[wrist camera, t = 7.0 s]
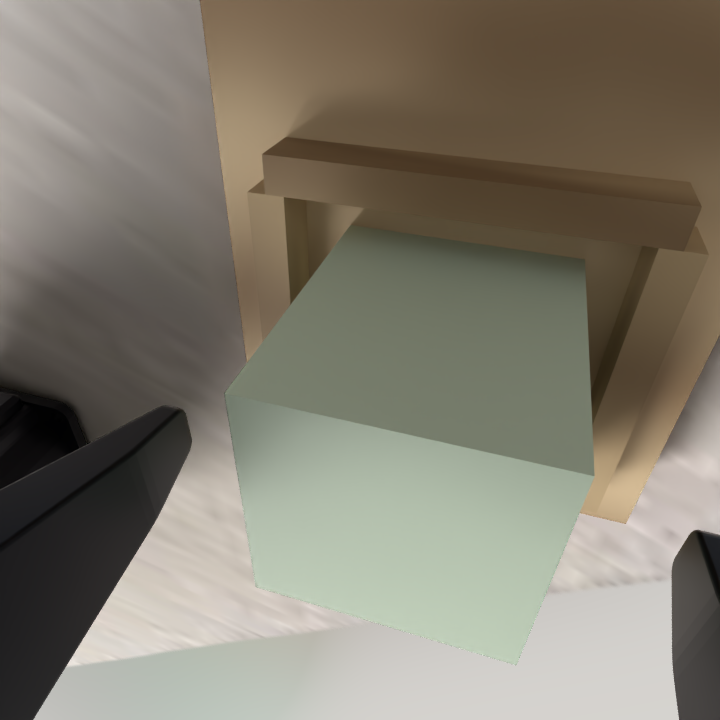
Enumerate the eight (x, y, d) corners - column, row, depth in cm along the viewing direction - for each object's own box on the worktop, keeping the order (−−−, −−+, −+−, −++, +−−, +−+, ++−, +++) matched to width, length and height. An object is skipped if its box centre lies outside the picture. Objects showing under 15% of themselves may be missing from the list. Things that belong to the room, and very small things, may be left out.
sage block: (533, 434, 15) (516, 665, 10) (348, 394, 16) (256, 586, 11) (584, 259, 12) (595, 476, 7) (350, 224, 13) (224, 393, 8)
